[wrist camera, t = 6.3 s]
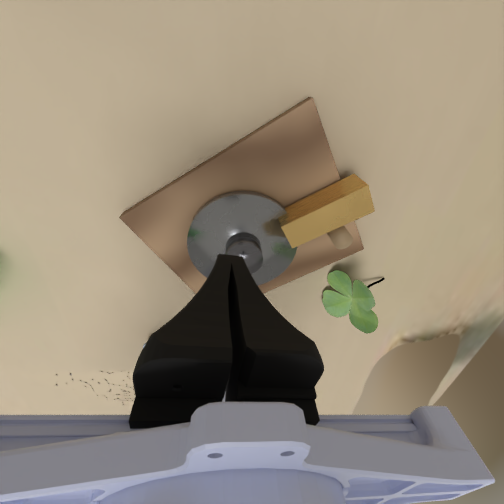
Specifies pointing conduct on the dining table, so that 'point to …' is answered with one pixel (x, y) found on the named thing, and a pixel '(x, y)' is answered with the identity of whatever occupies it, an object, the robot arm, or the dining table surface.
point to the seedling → (351, 301)
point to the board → (250, 179)
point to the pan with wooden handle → (271, 226)
